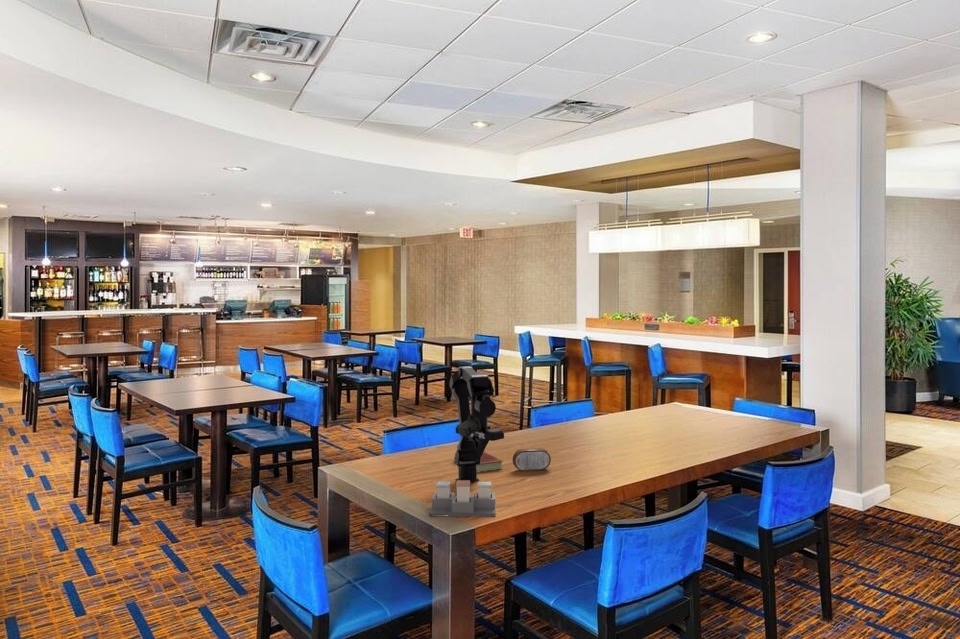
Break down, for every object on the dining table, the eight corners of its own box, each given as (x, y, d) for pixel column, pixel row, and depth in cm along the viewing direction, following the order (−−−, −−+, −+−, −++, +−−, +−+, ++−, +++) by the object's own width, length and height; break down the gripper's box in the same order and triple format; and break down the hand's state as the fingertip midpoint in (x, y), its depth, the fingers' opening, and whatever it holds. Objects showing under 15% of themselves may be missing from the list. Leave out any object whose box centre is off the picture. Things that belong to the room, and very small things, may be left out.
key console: (433, 504, 215) (433, 492, 215) (496, 504, 214) (495, 492, 214) (429, 515, 204) (429, 503, 204) (495, 516, 203) (495, 503, 203)
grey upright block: (437, 502, 214) (437, 481, 213) (450, 502, 213) (450, 481, 213) (436, 507, 209) (436, 485, 209) (449, 507, 209) (449, 485, 209)
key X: (457, 502, 209) (457, 480, 209) (470, 502, 209) (470, 480, 209) (456, 506, 205) (456, 484, 205) (469, 506, 205) (469, 484, 205)
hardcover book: (475, 474, 254) (475, 463, 253) (455, 461, 273) (455, 451, 273) (503, 470, 258) (502, 459, 258) (481, 458, 278) (481, 448, 277)
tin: (549, 468, 260) (549, 447, 259) (551, 470, 257) (551, 448, 256) (512, 470, 257) (512, 448, 257) (514, 472, 254) (514, 450, 254)
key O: (478, 503, 213) (478, 481, 213) (491, 503, 213) (491, 481, 213) (477, 507, 209) (477, 485, 209) (490, 507, 209) (490, 485, 209)
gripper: (443, 411, 226) (444, 456, 227) (481, 418, 213) (481, 465, 213) (467, 407, 234) (467, 450, 235) (505, 413, 221) (505, 459, 221)
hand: (479, 456), depth 226 cm, fingers closed
